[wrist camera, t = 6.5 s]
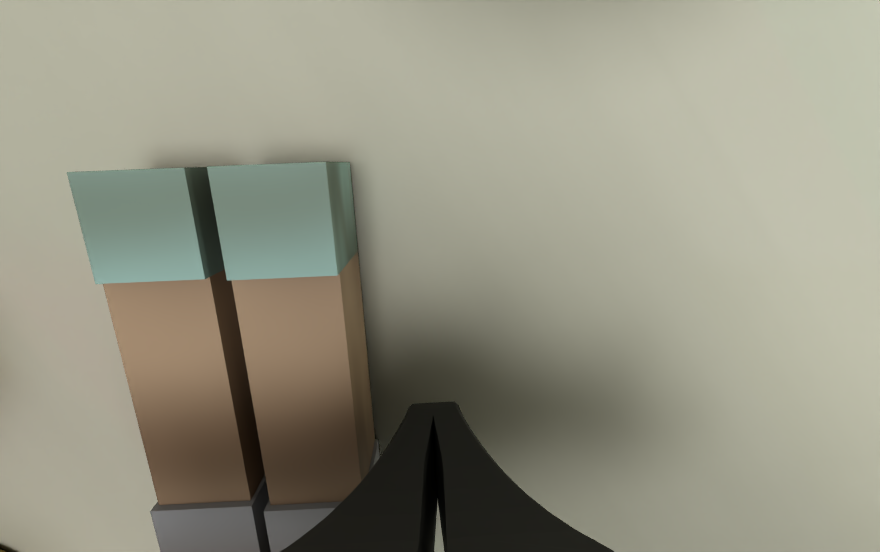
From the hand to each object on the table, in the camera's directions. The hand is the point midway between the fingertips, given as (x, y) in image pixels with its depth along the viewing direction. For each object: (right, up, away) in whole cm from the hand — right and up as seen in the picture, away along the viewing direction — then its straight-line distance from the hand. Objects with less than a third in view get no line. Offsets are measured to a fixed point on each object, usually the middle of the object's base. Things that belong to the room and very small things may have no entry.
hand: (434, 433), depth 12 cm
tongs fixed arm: (-5, -2, +2) cm, 6 cm away
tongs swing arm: (-3, 0, +1) cm, 3 cm away
